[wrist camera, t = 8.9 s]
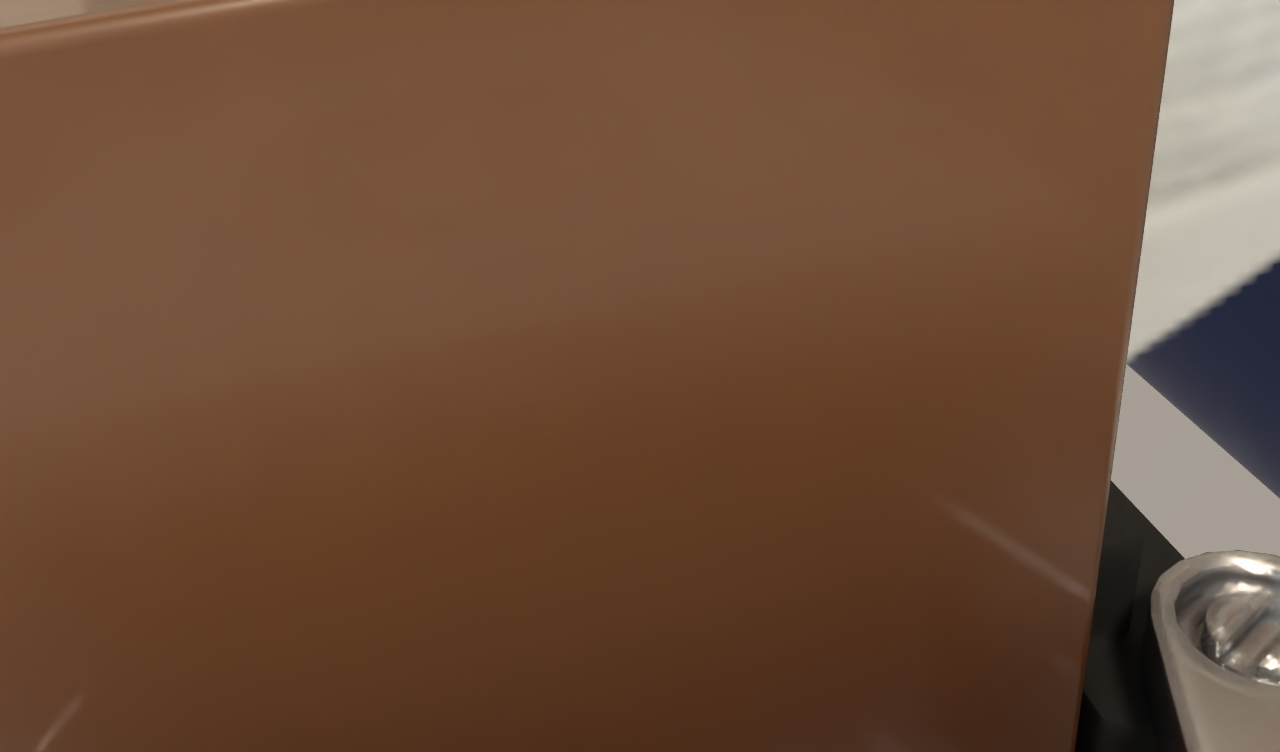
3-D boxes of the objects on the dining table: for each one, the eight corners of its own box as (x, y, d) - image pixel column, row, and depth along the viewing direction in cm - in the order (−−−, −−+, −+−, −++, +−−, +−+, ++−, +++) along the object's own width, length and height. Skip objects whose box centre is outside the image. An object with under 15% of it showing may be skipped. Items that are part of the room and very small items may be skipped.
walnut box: (-69, -88, 7) (-708, 155, 3) (784, -224, 8) (1230, -171, 4) (354, 869, 13) (333, 1418, 9) (830, 751, 14) (1027, 1212, 10)
